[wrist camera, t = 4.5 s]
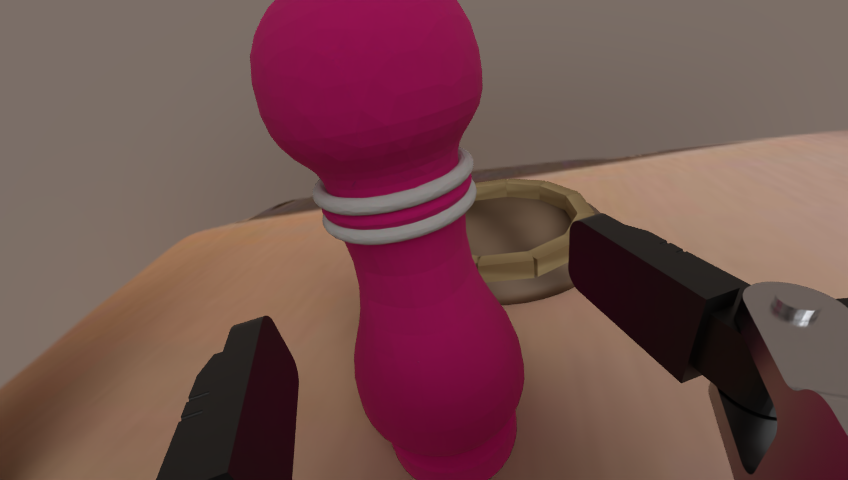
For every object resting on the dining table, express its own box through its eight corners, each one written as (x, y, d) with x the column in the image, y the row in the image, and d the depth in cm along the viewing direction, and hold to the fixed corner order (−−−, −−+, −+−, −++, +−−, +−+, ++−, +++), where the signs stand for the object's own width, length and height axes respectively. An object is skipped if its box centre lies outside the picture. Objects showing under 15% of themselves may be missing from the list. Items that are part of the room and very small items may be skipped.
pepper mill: (421, 350, 22) (312, -53, 12) (540, 382, 18) (529, -146, 8) (354, 465, 16) (52, -90, 6) (504, 540, 13) (355, -388, 3)
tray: (463, 344, 21) (457, 315, 20) (375, 235, 36) (369, 214, 35) (662, 241, 27) (668, 212, 25) (514, 182, 41) (513, 162, 40)
